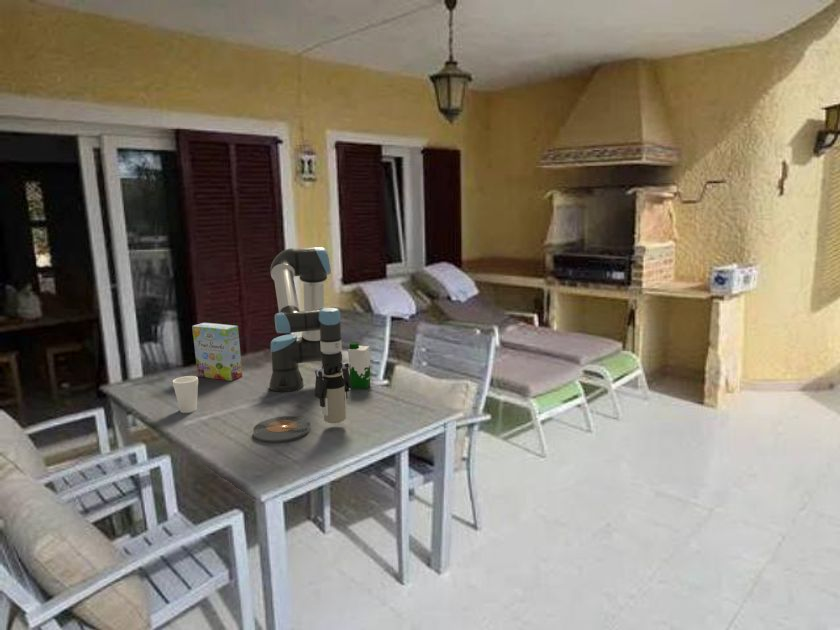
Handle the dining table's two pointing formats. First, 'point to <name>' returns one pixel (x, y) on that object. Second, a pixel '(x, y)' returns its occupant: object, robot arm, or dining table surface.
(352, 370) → the soya milk
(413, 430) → the dining table surface
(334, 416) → the travel mug
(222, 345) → the snack box
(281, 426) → the grey flat disc
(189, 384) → the foam cup
